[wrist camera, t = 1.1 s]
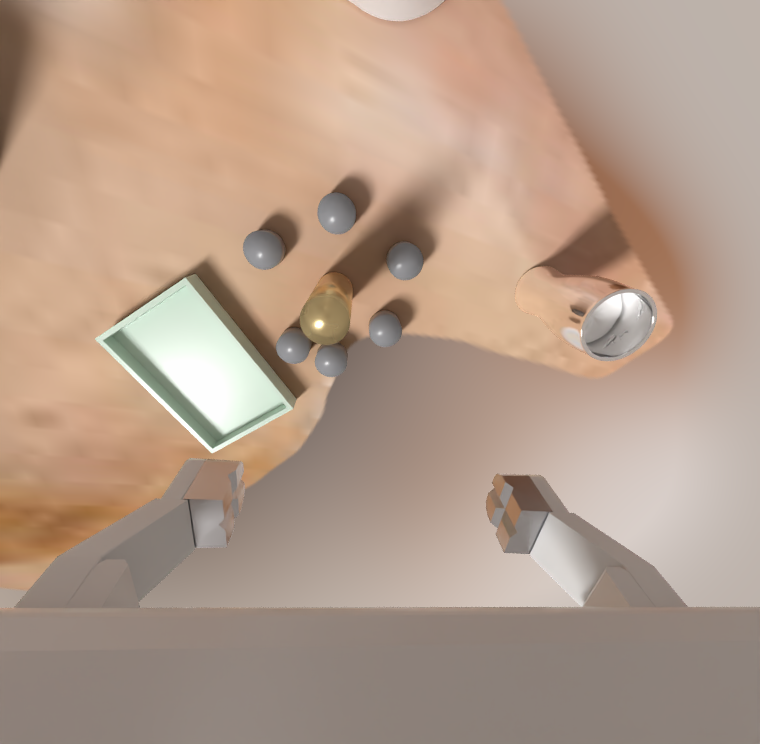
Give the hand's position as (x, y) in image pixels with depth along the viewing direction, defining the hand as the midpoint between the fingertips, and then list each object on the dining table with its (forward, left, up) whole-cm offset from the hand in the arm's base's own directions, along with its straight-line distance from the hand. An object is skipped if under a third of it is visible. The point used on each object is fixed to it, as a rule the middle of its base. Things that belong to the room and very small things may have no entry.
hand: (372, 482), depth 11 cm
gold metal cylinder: (-1, -4, -34) cm, 34 cm away
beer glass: (+12, +18, -34) cm, 41 cm away
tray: (-1, -24, -34) cm, 41 cm away
